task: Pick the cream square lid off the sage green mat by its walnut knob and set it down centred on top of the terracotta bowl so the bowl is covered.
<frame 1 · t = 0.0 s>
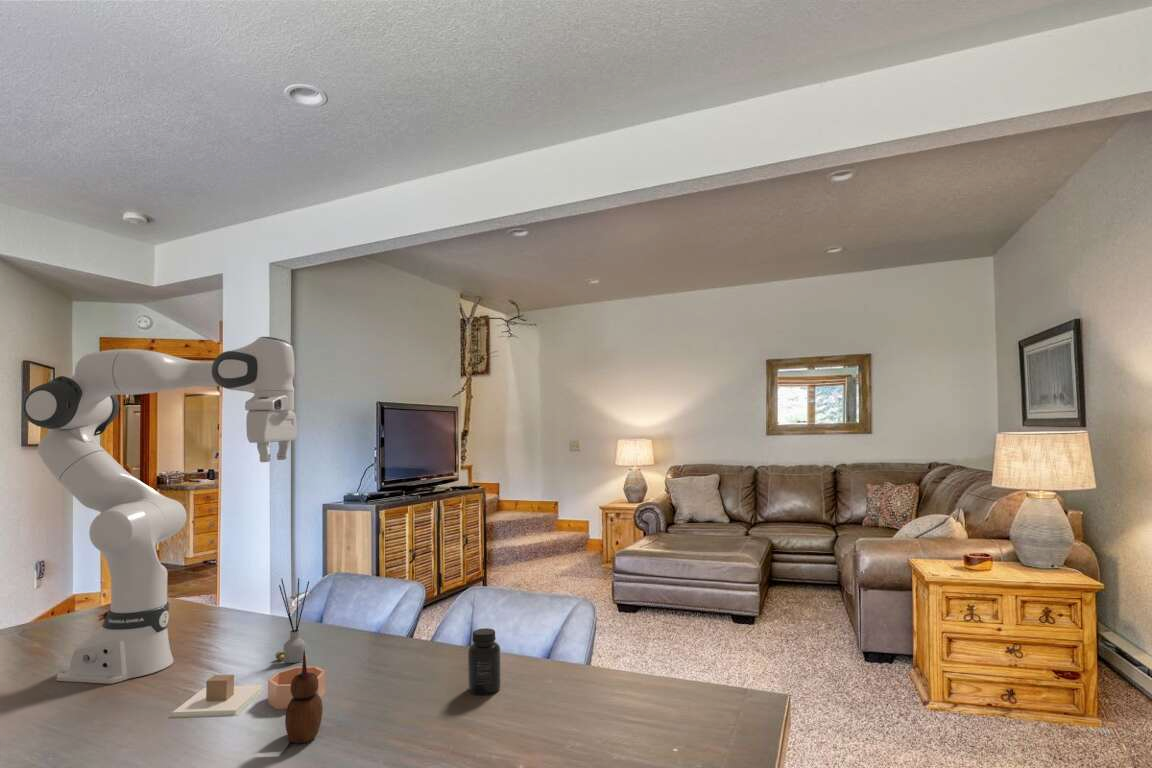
hand: (273, 460, 155), 48 cm above the table, tool pointing down, fingers open, 8 cm apart
supplement bottle: (484, 690, 137), on the table
reed diffuser: (289, 664, 153), on the table
mat: (219, 705, 131), on the table
lid: (220, 702, 131), point 1 cm above the table, touching mat
wooden figurine: (303, 739, 116), on the table
bowl: (297, 700, 132), on the table
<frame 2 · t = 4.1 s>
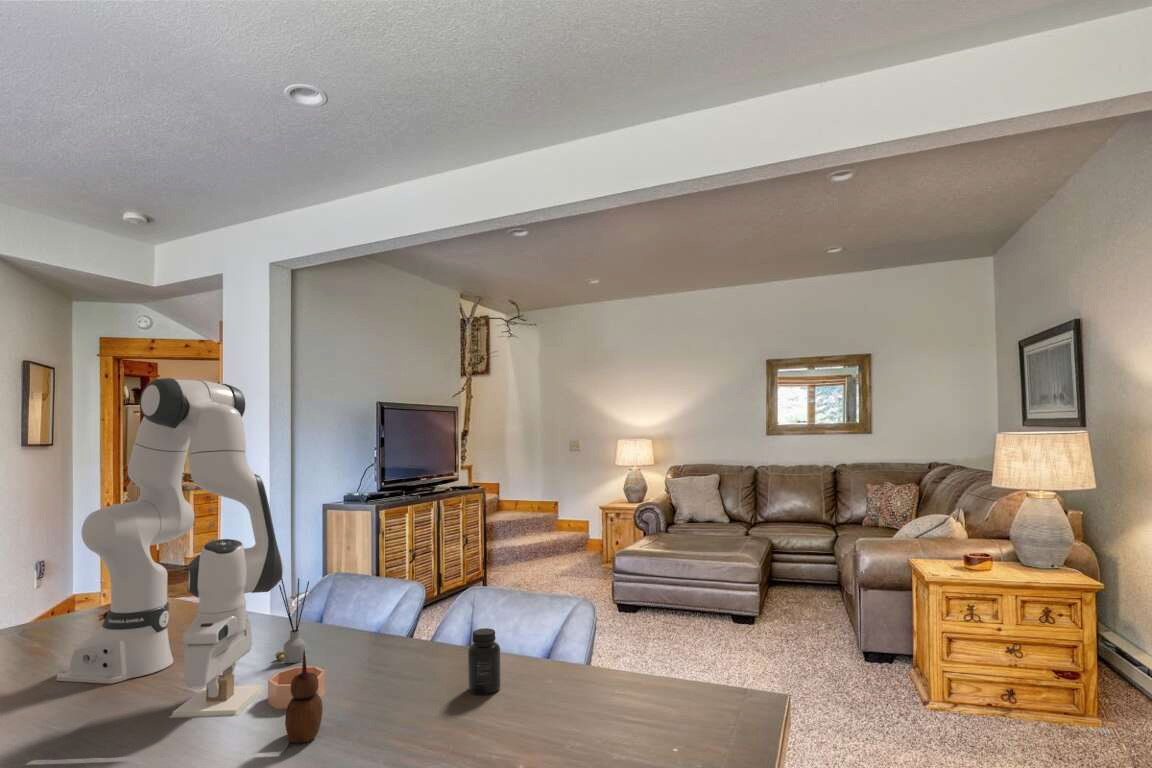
hand: (220, 691, 131), 3 cm above the table, tool pointing down, fingers closed on lid, 3 cm apart
lid: (220, 701, 131), point 1 cm above the table, touching gripper, mat
everything else where it was.
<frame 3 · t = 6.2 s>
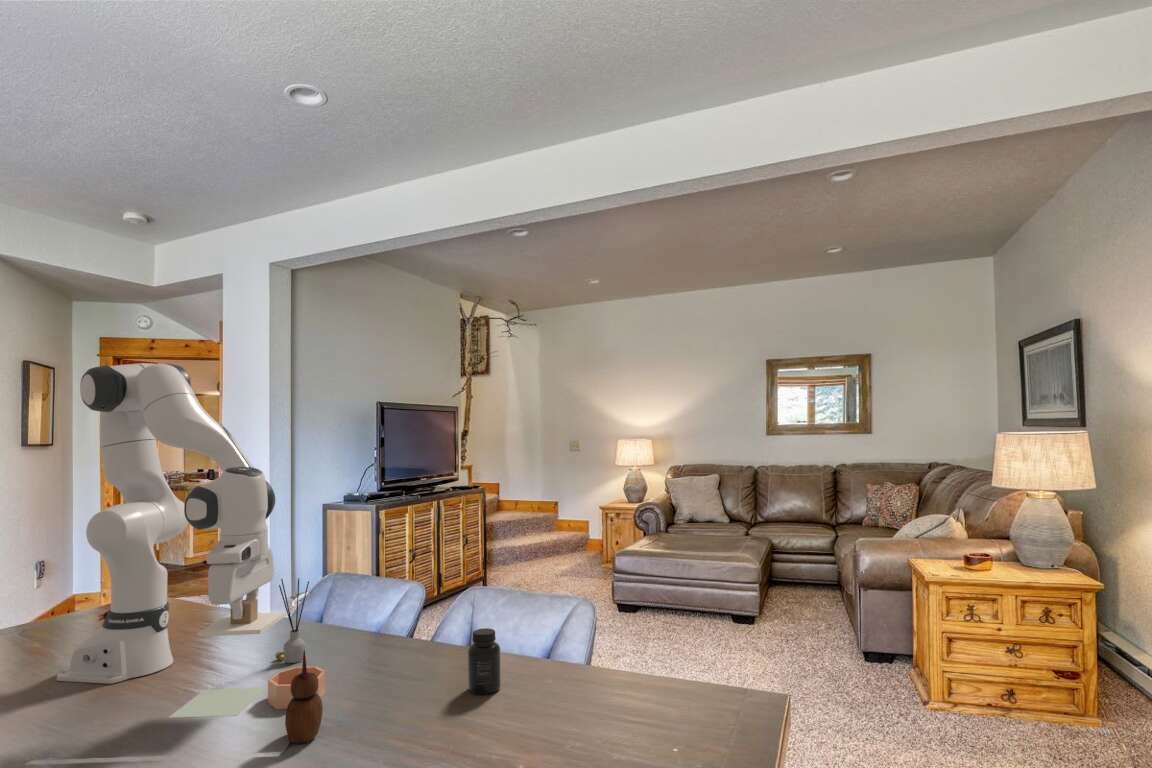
hand: (244, 615, 132), 18 cm above the table, tool pointing down, fingers closed on lid, 3 cm apart
lid: (244, 625, 131), point 16 cm above the table, touching gripper
everything else where it was.
when the fingers open (8 cm above the table, at t = 8.2 s): lid drops 1 cm, resting on bowl.
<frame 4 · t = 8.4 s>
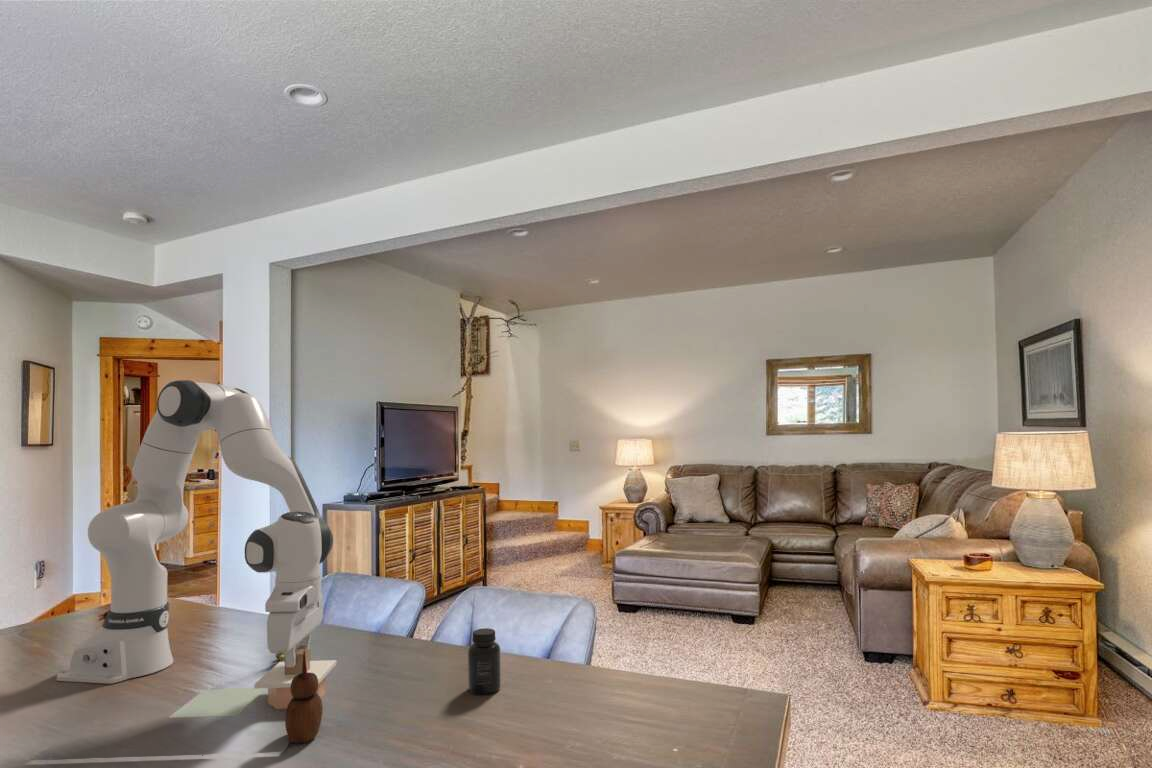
hand: (297, 660, 133), 8 cm above the table, tool pointing down, fingers open, 5 cm apart
lid: (297, 675, 132), point 5 cm above the table, touching bowl
everything else where it was.
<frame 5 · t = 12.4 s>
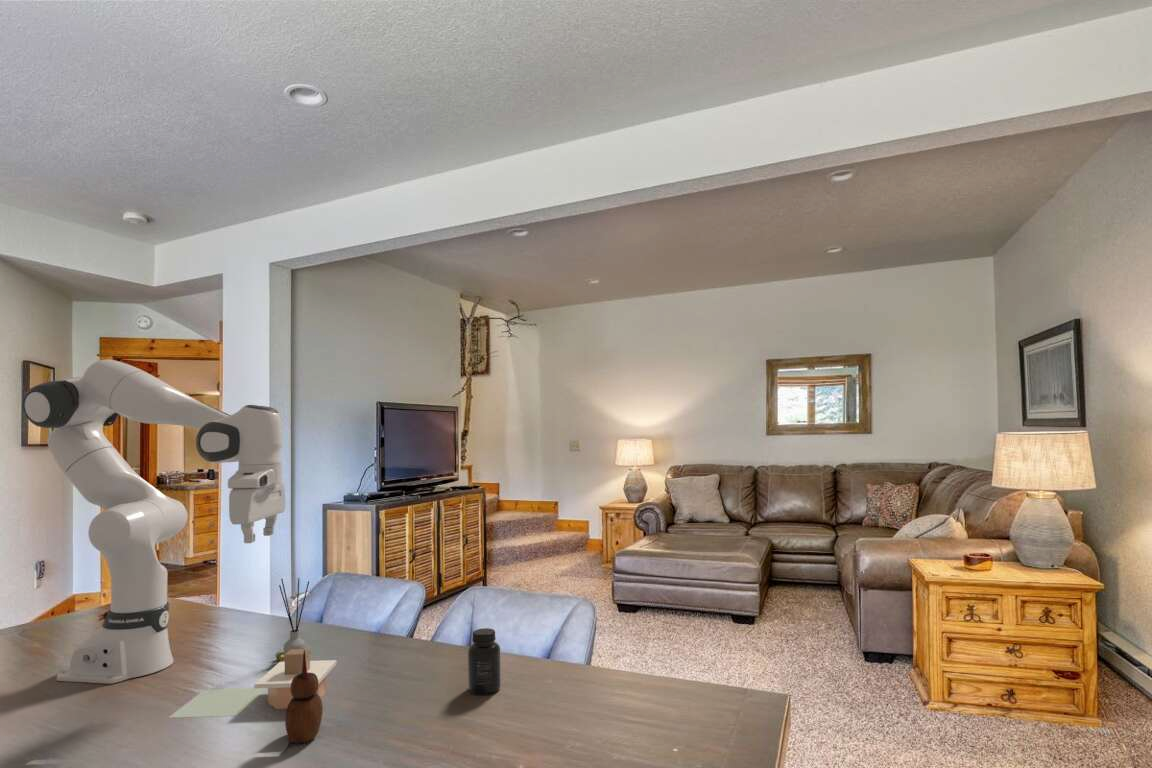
hand: (259, 538, 144), 31 cm above the table, tool pointing down, fingers open, 8 cm apart
nothing on the table moved.
at the end: lid 0.0 cm off-centre on the bowl, point 5.0 cm above the bowl's base; lid tilted 0°; the gripper is holding nothing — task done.
